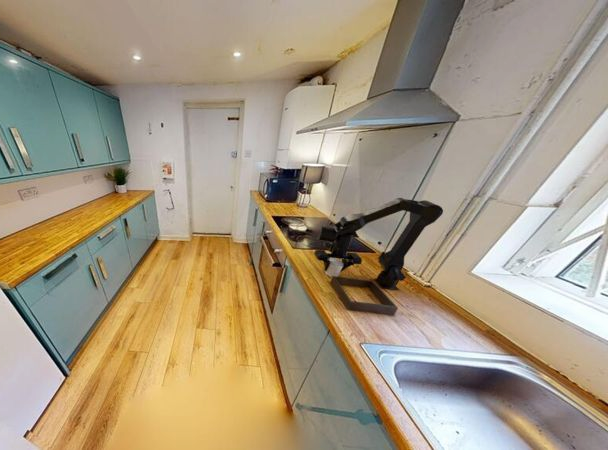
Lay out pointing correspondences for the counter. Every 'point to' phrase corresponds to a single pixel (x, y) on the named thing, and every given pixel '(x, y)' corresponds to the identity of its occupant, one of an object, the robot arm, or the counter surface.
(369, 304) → the brown square frame
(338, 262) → the shot glass
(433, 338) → the counter surface
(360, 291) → the counter surface
